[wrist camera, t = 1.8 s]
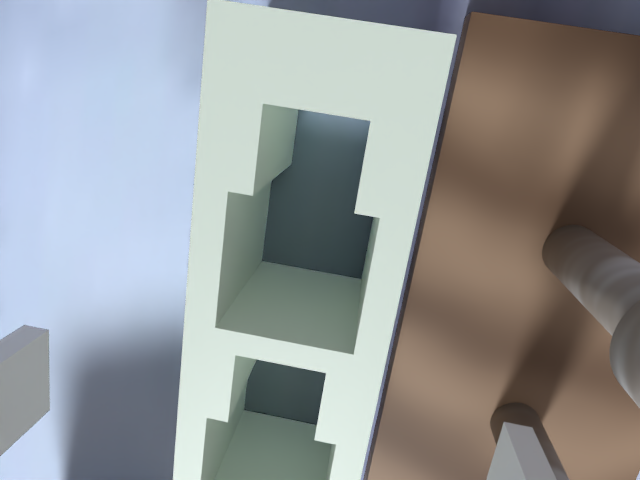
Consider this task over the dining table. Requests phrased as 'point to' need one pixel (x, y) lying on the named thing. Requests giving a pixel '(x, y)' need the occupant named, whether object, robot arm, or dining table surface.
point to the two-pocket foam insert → (287, 281)
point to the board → (524, 263)
